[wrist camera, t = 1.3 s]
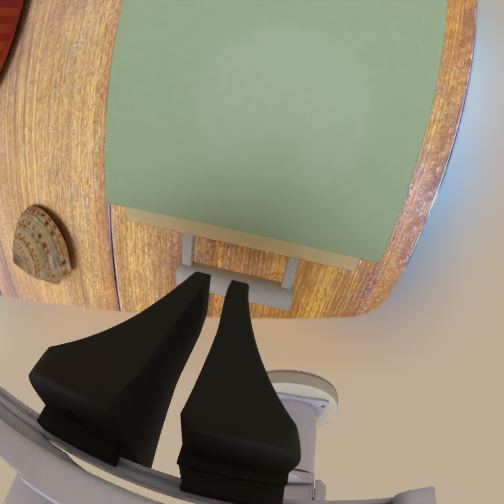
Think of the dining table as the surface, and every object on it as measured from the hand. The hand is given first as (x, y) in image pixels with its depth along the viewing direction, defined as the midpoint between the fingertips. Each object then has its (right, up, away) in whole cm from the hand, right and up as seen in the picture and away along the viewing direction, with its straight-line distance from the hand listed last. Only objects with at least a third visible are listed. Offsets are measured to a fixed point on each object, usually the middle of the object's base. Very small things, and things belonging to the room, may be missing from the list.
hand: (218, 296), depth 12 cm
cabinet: (+3, +13, +4) cm, 14 cm away
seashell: (-20, +3, +14) cm, 25 cm away
